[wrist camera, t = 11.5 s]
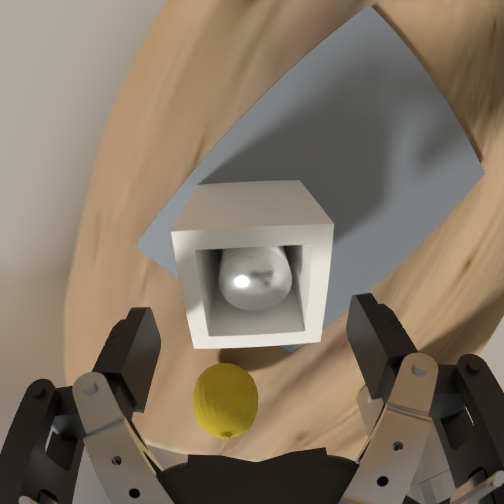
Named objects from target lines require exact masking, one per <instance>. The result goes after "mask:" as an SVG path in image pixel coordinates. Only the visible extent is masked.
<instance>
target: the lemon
mask: <svg viewBox="0 0 504 504" xmlns="http://www.w3.org/2000/svg"><path fill="white" fill-rule="evenodd" d="M193 408H194V413H195V417H196V419H197V421H198V423H199V424H200V426H201V427H202V428H203V429H204V430H205V431H207V432H208V433H210V434H212V435H214V436H216V437H219V438H220V439H222V440H228V439H229V438H231V437H236V436H238V435H240V434H242V433H244V432H245V431H246V430H248V429H249V428H250V426H251V425H252V423H253V422H254V420H255V417H256V414H257V409H258V391H257V387H256V385H255V383H254V380H253V378H252V377H251V376H250V374H249V373H248V372H247V371H246V370H244V369H243V368H241V367H239V366H237V365H234V364H230V363H221V364H216V365H213V366H211V367H209V368H208V369H206V370H205V371H204V372H203V373H202V374H201V375H200V377H199V378H198V380H197V382H196V385H195V388H194V392H193Z"/></svg>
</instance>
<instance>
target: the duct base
mask: <svg viewBox="0 0 504 504" xmlns="http://www.w3.org/2000/svg"><path fill="white" fill-rule="evenodd" d="M484 174H485V173H484V171H483V169H482V166H481V164H480V162H479V160H478V158H477V155H476V153H475V151H474V149H473V147H472V145H471V143H470V141H469V139H468V137H467V135H466V133H465V132H464V130H463V128H462V126H461V124H460V122H459V121H458V119H457V117H456V115H455V114H454V112H453V110H452V109H451V107H450V105H449V104H448V102H447V101H446V99H445V97H444V96H443V94H442V93H441V91H440V90H439V88H438V87H437V85H436V84H435V82H434V81H433V79H432V78H431V76H430V75H429V74H428V72H427V71H426V70H425V68H424V67H423V65H422V64H421V63H420V61H419V60H418V59H417V58H416V56H415V55H414V54H413V52H412V51H411V50H410V49H409V48H408V46H407V45H406V44H405V43H404V42H403V40H402V39H401V38H400V37H399V36H398V35H397V33H396V32H395V31H394V30H393V29H392V28H391V27H390V26H389V24H388V23H387V22H386V21H385V20H384V19H383V18H382V17H381V16H380V15H379V14H378V13H377V12H376V11H375V10H374V9H373V8H372V7H371V6H370V5H368V6H367V7H365V8H364V9H363V10H361V11H360V12H359V13H357V14H356V15H355V16H353V17H352V18H351V19H349V20H348V21H347V22H345V23H344V24H343V25H342V26H340V27H339V28H338V29H337V30H335V31H334V32H333V33H332V34H331V35H329V36H328V37H327V38H326V39H324V40H323V41H322V42H321V43H320V44H319V45H317V46H316V47H315V48H314V49H313V50H312V51H310V52H309V53H308V54H307V55H306V56H305V57H304V58H302V59H301V60H300V61H299V62H298V63H297V64H296V65H295V66H294V67H292V68H291V69H290V70H289V71H288V72H287V73H286V74H285V75H284V76H283V77H282V78H281V79H279V80H278V81H277V82H276V83H275V84H274V85H273V86H272V87H271V88H270V89H269V90H268V91H267V92H266V93H265V94H264V95H263V96H262V97H261V98H260V99H259V100H258V101H257V102H256V103H255V104H254V105H253V106H252V107H251V108H250V109H249V110H248V111H247V112H246V113H245V114H244V115H243V116H242V117H241V118H240V119H239V120H238V121H237V123H236V124H235V125H234V126H233V127H232V128H231V129H230V130H229V131H228V132H227V133H226V134H225V135H224V137H223V138H222V139H221V140H220V141H219V142H218V143H217V144H216V145H215V146H214V148H213V149H212V150H211V151H210V152H209V153H208V154H207V156H206V157H205V158H204V159H203V160H202V161H201V162H200V164H199V165H198V166H197V167H196V168H195V169H194V171H193V172H192V173H191V174H190V175H189V177H188V178H187V179H186V180H185V181H184V183H183V184H182V185H181V186H180V187H179V189H178V190H177V191H176V192H175V194H174V195H173V196H172V197H171V199H170V200H169V201H168V202H167V204H166V205H165V206H164V208H163V209H162V210H161V211H160V213H159V214H158V215H157V217H156V218H155V219H154V221H153V222H152V223H151V224H150V226H149V227H148V228H147V230H146V231H145V233H144V234H143V235H142V237H141V238H140V239H139V241H138V242H137V244H136V245H135V247H136V248H137V249H139V250H140V251H141V252H143V253H144V254H145V255H147V256H148V257H149V258H151V259H152V260H153V261H155V262H156V263H157V264H159V265H160V266H161V267H163V268H164V269H165V270H167V271H168V272H169V273H171V274H172V275H174V276H175V277H176V278H178V279H179V275H178V269H177V264H176V258H175V253H174V247H173V241H172V235H171V231H172V229H173V227H174V225H175V223H176V221H177V220H178V218H179V216H180V214H181V212H182V211H183V209H184V207H185V205H186V204H187V202H188V200H189V198H190V196H191V195H192V193H193V191H194V190H195V188H196V186H197V185H201V184H215V183H231V182H251V181H278V180H300V181H301V183H302V184H303V185H304V186H305V188H306V189H307V190H308V191H309V192H310V194H311V195H312V196H313V197H314V199H315V200H316V201H317V202H318V204H319V205H320V206H321V208H322V209H323V210H324V211H325V213H326V214H327V215H328V217H329V218H330V219H331V220H332V222H333V223H334V231H333V243H332V253H331V263H330V273H329V281H328V290H327V298H326V305H325V313H324V320H323V327H322V330H323V329H324V328H325V327H327V326H328V325H329V324H330V323H332V322H333V321H334V320H335V319H337V318H338V317H339V316H340V315H342V314H343V313H344V312H345V311H347V310H348V309H349V308H350V302H351V298H352V296H353V295H357V294H365V293H368V292H369V291H370V290H371V289H373V288H374V287H375V286H376V285H377V284H378V283H379V282H380V281H382V280H383V279H384V278H385V277H386V276H387V275H388V274H389V273H390V272H392V271H393V270H394V269H395V268H396V267H397V266H398V265H399V264H400V263H401V262H402V261H403V260H404V259H405V258H407V257H408V256H409V255H410V254H411V253H412V252H413V251H414V250H415V249H416V248H417V247H418V246H419V245H420V244H421V243H422V242H423V241H424V240H425V239H426V238H427V237H428V236H429V235H430V234H431V233H432V232H433V231H434V230H435V229H436V228H437V227H438V226H439V225H440V223H441V222H442V221H443V220H444V219H445V218H446V217H447V216H448V215H449V214H450V213H451V212H452V211H453V210H454V208H455V207H456V206H457V205H458V204H459V203H460V202H461V201H462V200H463V198H464V197H465V196H466V195H467V194H468V193H469V191H470V190H471V189H472V188H473V187H474V186H475V184H476V183H477V182H478V181H479V180H480V178H481V177H482V176H483V175H484ZM283 247H284V250H285V252H286V245H285V246H283ZM217 256H218V262H221V258H222V249H217ZM303 344H304V343H303ZM303 344H291V345H278V346H279V347H281V348H282V349H284V350H286V351H287V352H289V353H290V354H291V353H292V352H293V351H295V350H296V349H297V348H299V347H300V346H302V345H303Z"/></svg>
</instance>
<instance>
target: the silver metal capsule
mask: <svg viewBox="0 0 504 504" xmlns="http://www.w3.org/2000/svg"><path fill="white" fill-rule="evenodd" d="M291 285H292V275H291V271H290V267H289V264H288V260H287V257H286V254H285V250H284V247H283V246H264V247H244V248H224V249H222V258H221V266H220V275H219V287H220V290H221V293H222V295H223V296H224V298H225V299H226V300H227V301H228V302H229V303H230V304H232V305H233V306H235V307H237V308H239V309H242V310H247V311H262V310H266V309H270V308H272V307H274V306H276V305H277V304H279V303H280V302H281V301H282V300H283V299H284V298H285V297H286V296H287V294H288V293H289V291H290V288H291Z"/></svg>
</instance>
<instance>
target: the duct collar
mask: <svg viewBox="0 0 504 504" xmlns="http://www.w3.org/2000/svg"><path fill="white" fill-rule="evenodd" d="M333 231H334V223H333V222H332V220H331V219H330V218H329V217H328V215H327V214H326V213H325V211H324V210H323V209H322V208H321V206H320V205H319V204H318V202H317V201H316V200H315V199H314V197H313V196H312V195H311V194H310V192H309V191H308V190H307V189H306V188H305V186H304V185H303V184H302V183H301V181H300V180H278V181H251V182H231V183H215V184H201V185H197V186H196V188H195V190H194V191H193V193H192V195H191V196H190V198H189V200H188V202H187V204H186V205H185V207H184V209H183V211H182V212H181V214H180V216H179V218H178V220H177V221H176V223H175V225H174V227H173V229H172V231H171V235H172V241H173V247H174V253H175V258H176V264H177V269H178V275H179V280H180V285H181V290H182V295H183V300H184V305H185V310H186V314H187V319H188V323H189V328H190V332H191V336H192V341H193V345H194V349H207V348H243V347H263V346H278V345H291V344H303V343H313V342H320V340H321V333H322V327H323V320H324V313H325V305H326V298H327V290H328V281H329V273H330V263H331V253H332V243H333ZM285 245H286V252H285V254H286V257H287V260H288V264H289V267H290V271H291V275H292V285H291V288H290V291H289V293H288V294H287V296H286V297H285V298H284V299H283V300H282V301H281V302H280V303H279V304H277V305H276V306H274V307H272V308H270V309H266V310H262V311H247V310H242V309H239V308H237V307H235V306H233V305H232V304H230V303H229V302H228V301H227V300H226V299H225V298H224V296H223V295H222V293H221V290H220V287H219V275H220V266H221V262H218V256H217V249H224V248H244V247H264V246H285Z"/></svg>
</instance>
